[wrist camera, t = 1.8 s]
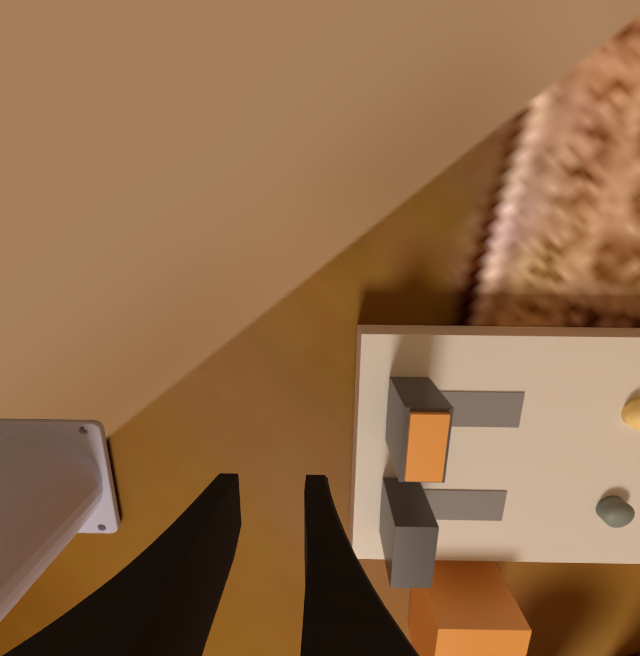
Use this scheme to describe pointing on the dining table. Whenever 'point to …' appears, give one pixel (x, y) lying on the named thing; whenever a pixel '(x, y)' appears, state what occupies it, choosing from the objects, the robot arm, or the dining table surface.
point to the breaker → (407, 534)
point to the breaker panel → (511, 440)
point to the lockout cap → (467, 613)
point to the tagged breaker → (418, 429)
